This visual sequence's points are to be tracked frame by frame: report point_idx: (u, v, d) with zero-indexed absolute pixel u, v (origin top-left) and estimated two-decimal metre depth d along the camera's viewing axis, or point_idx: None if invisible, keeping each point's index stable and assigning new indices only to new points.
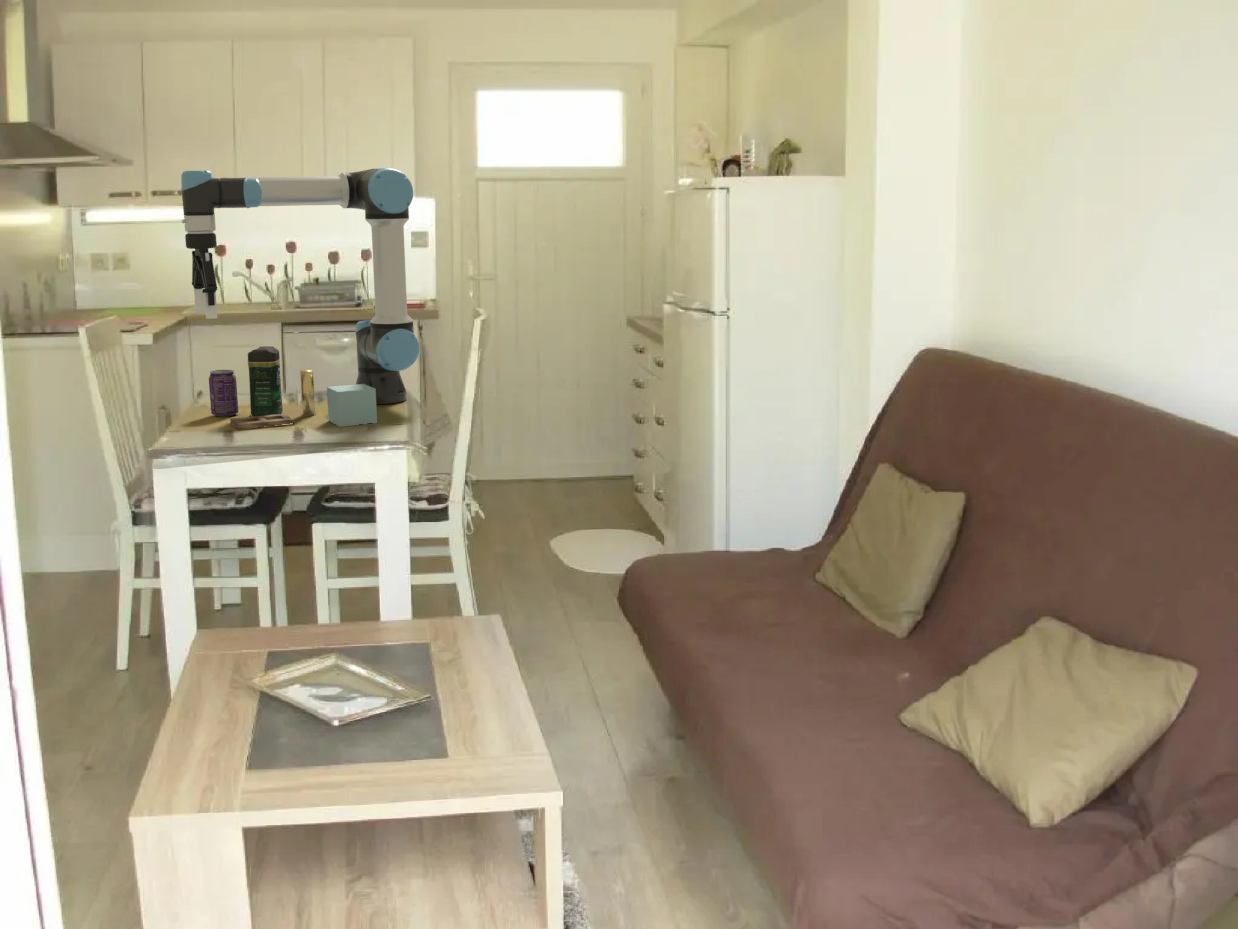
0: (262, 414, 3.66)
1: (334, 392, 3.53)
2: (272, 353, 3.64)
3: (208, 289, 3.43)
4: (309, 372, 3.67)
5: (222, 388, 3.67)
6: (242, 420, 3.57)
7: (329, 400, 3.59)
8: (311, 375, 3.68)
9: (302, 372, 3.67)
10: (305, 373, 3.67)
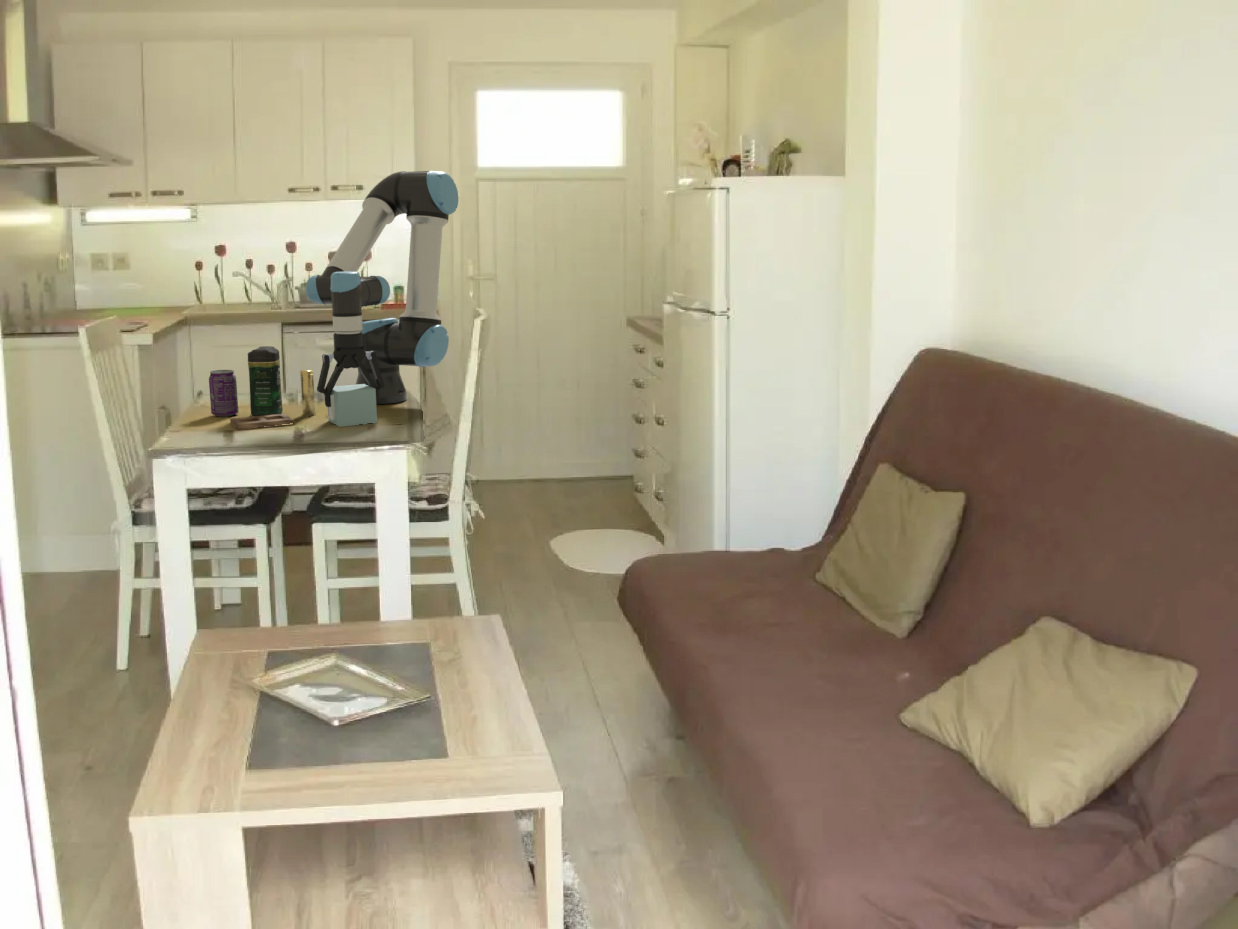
0: (262, 414, 3.66)
1: (334, 392, 3.53)
2: (272, 353, 3.64)
3: (317, 390, 3.54)
4: (309, 372, 3.67)
5: (222, 388, 3.67)
6: (242, 420, 3.57)
7: None
8: (311, 375, 3.68)
9: (302, 372, 3.67)
10: (305, 373, 3.67)
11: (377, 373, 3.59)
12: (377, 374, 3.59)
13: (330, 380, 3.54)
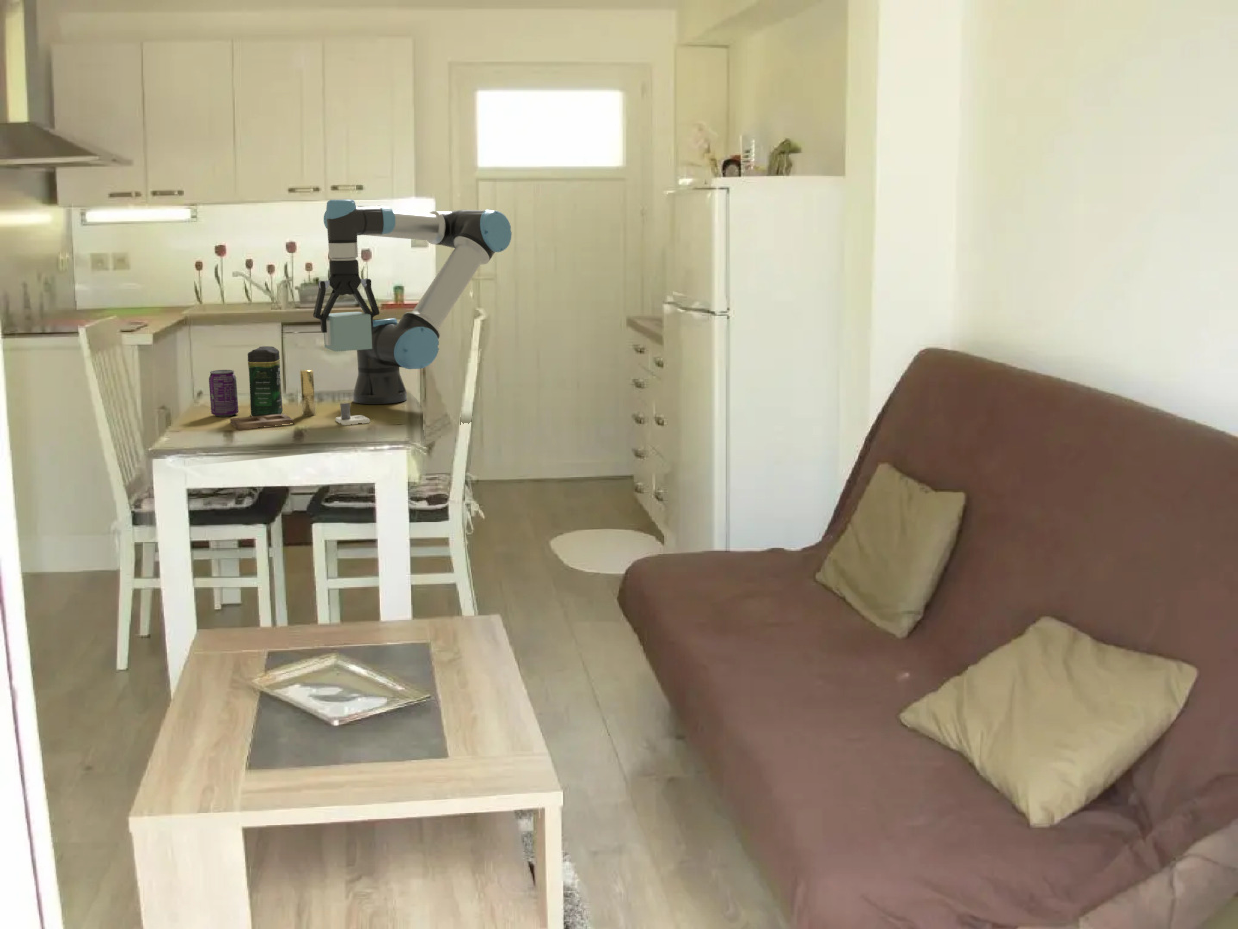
0: (262, 414, 3.66)
1: (330, 318, 3.61)
2: (272, 353, 3.64)
3: (313, 316, 3.62)
4: (309, 372, 3.67)
5: (222, 388, 3.67)
6: (242, 420, 3.57)
7: None
8: (311, 375, 3.68)
9: (302, 372, 3.67)
10: (305, 373, 3.67)
11: (372, 300, 3.66)
12: (372, 301, 3.66)
13: (326, 306, 3.62)
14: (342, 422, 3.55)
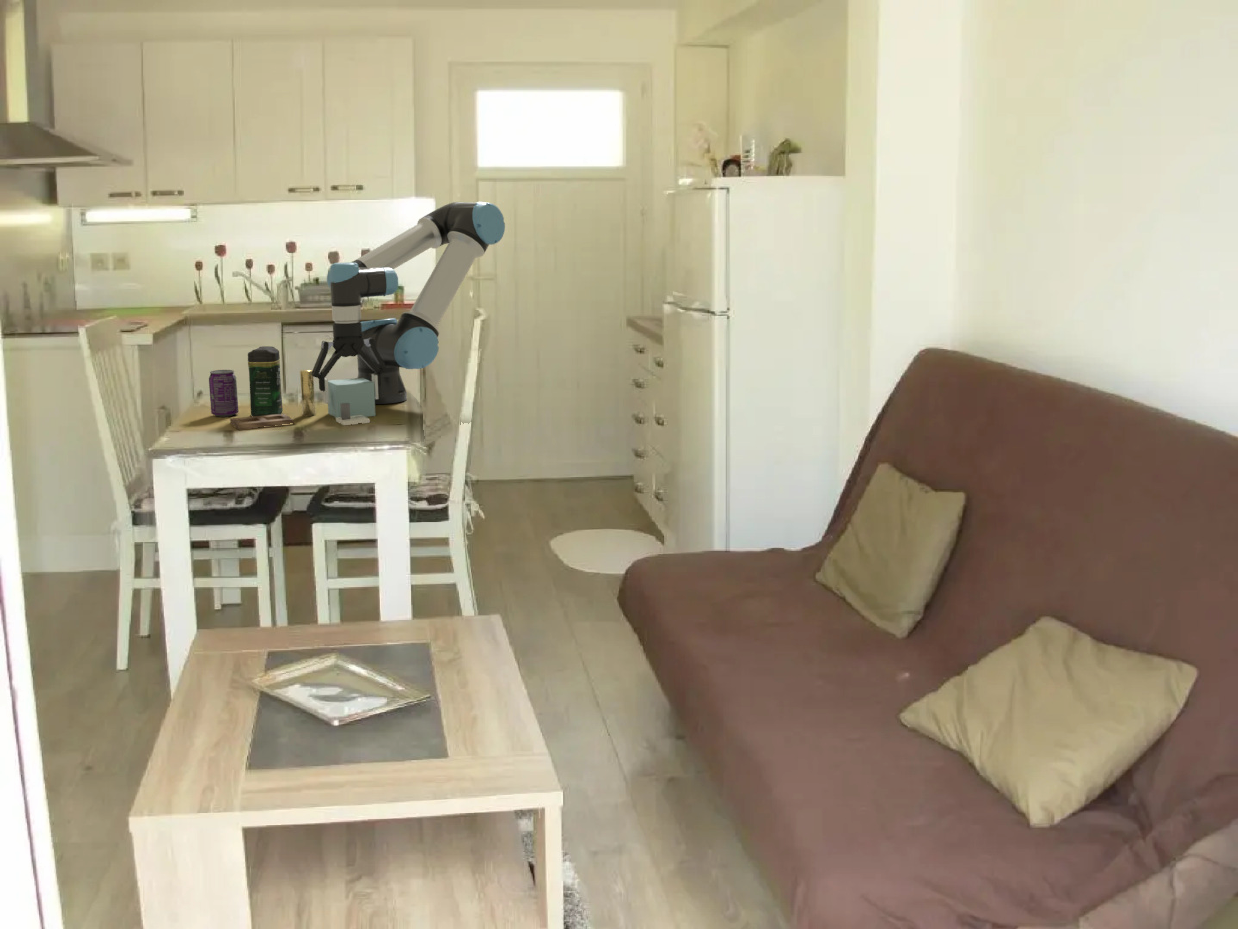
0: (262, 414, 3.66)
1: (334, 386, 3.64)
2: (272, 353, 3.64)
3: (312, 375, 3.64)
4: (309, 372, 3.67)
5: (222, 388, 3.67)
6: (242, 420, 3.57)
7: (329, 393, 3.70)
8: (311, 375, 3.68)
9: (302, 372, 3.67)
10: (305, 373, 3.67)
11: (378, 358, 3.70)
12: (378, 359, 3.70)
13: (326, 366, 3.65)
14: (342, 422, 3.55)
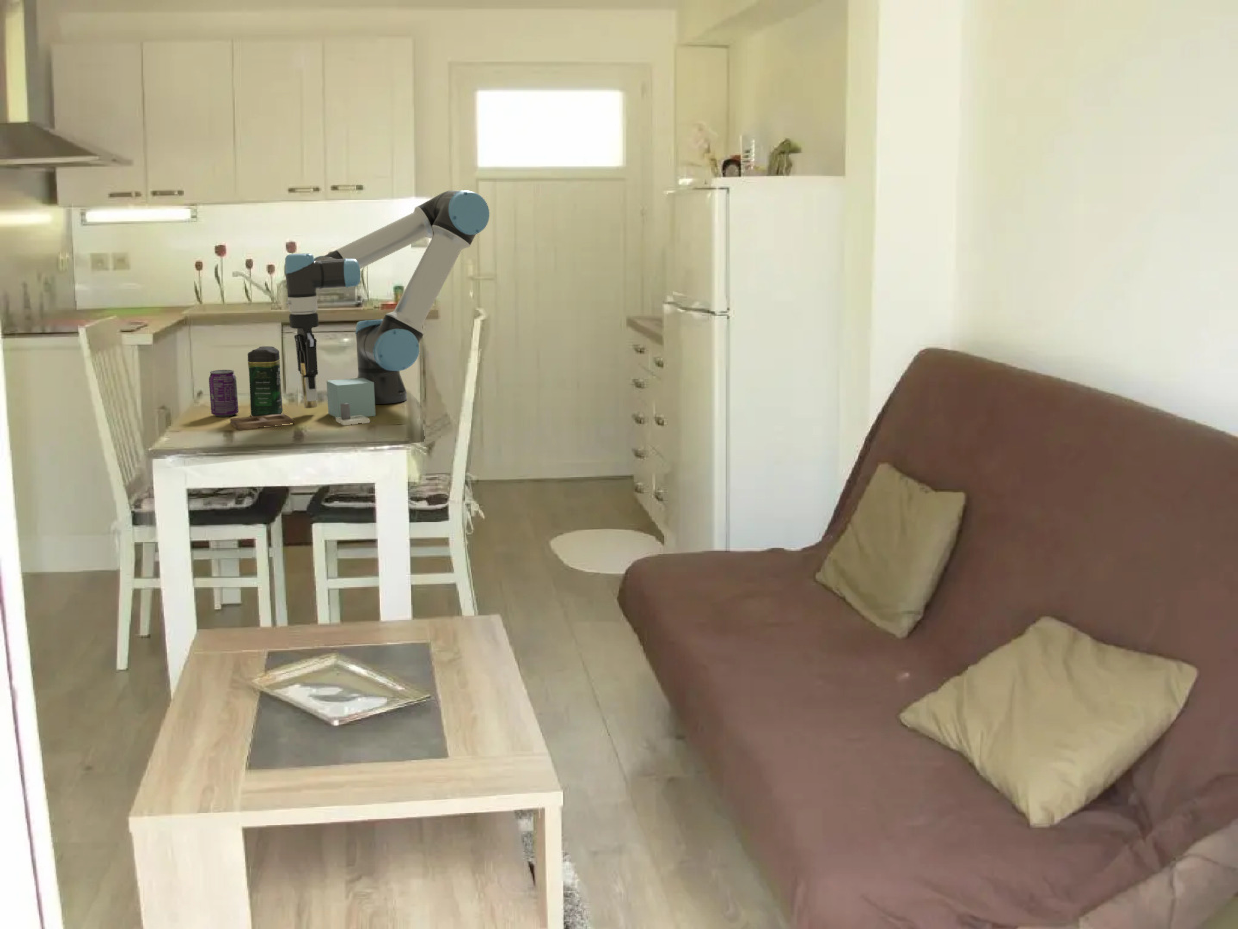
0: (262, 414, 3.66)
1: (334, 386, 3.64)
2: (272, 353, 3.64)
3: (309, 374, 3.64)
4: None
5: (222, 388, 3.67)
6: (242, 420, 3.57)
7: (329, 393, 3.70)
8: None
9: (303, 364, 3.67)
10: None
11: None
12: None
13: None
14: (342, 422, 3.55)
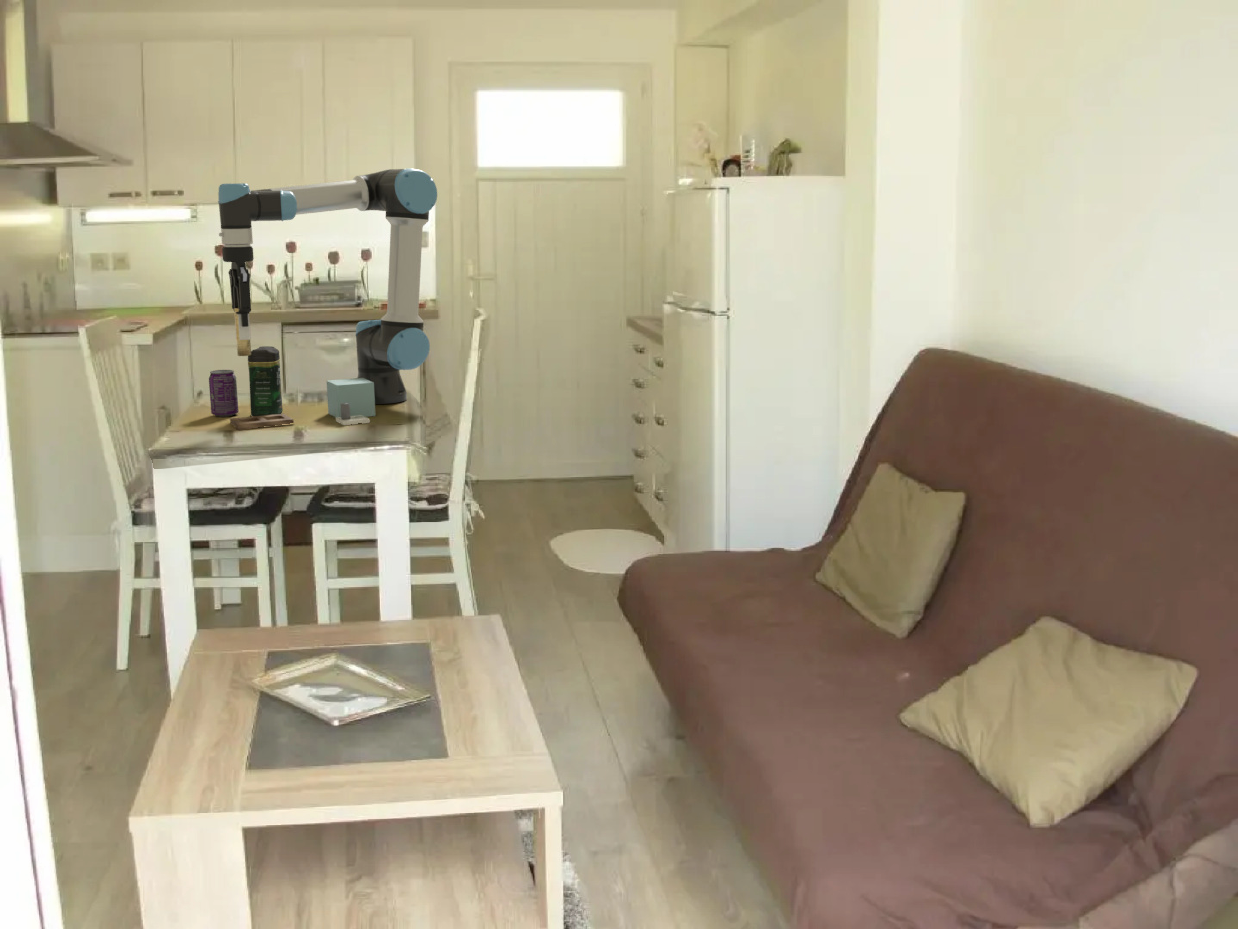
0: (262, 414, 3.66)
1: (334, 386, 3.64)
2: (272, 353, 3.64)
3: (242, 310, 3.45)
4: None
5: (222, 388, 3.67)
6: (242, 420, 3.57)
7: (329, 393, 3.70)
8: None
9: (236, 309, 3.48)
10: None
11: None
12: None
13: None
14: (342, 422, 3.55)
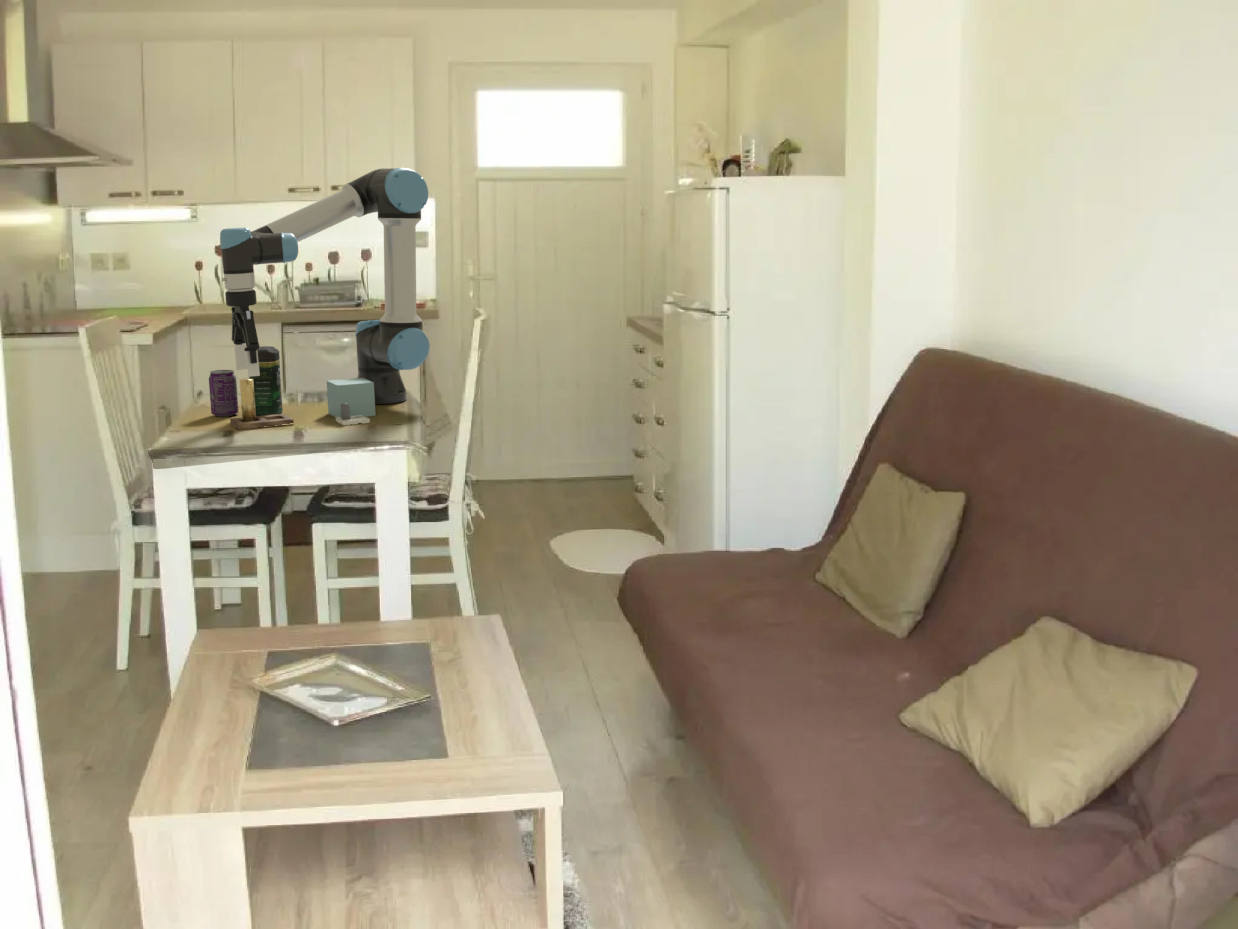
0: (262, 414, 3.66)
1: (334, 386, 3.64)
2: (272, 353, 3.64)
3: (250, 348, 3.43)
4: (249, 381, 3.52)
5: (222, 388, 3.67)
6: (242, 420, 3.57)
7: (329, 393, 3.70)
8: (251, 384, 3.53)
9: (242, 381, 3.52)
10: (245, 382, 3.52)
11: None
12: None
13: None
14: (342, 422, 3.55)
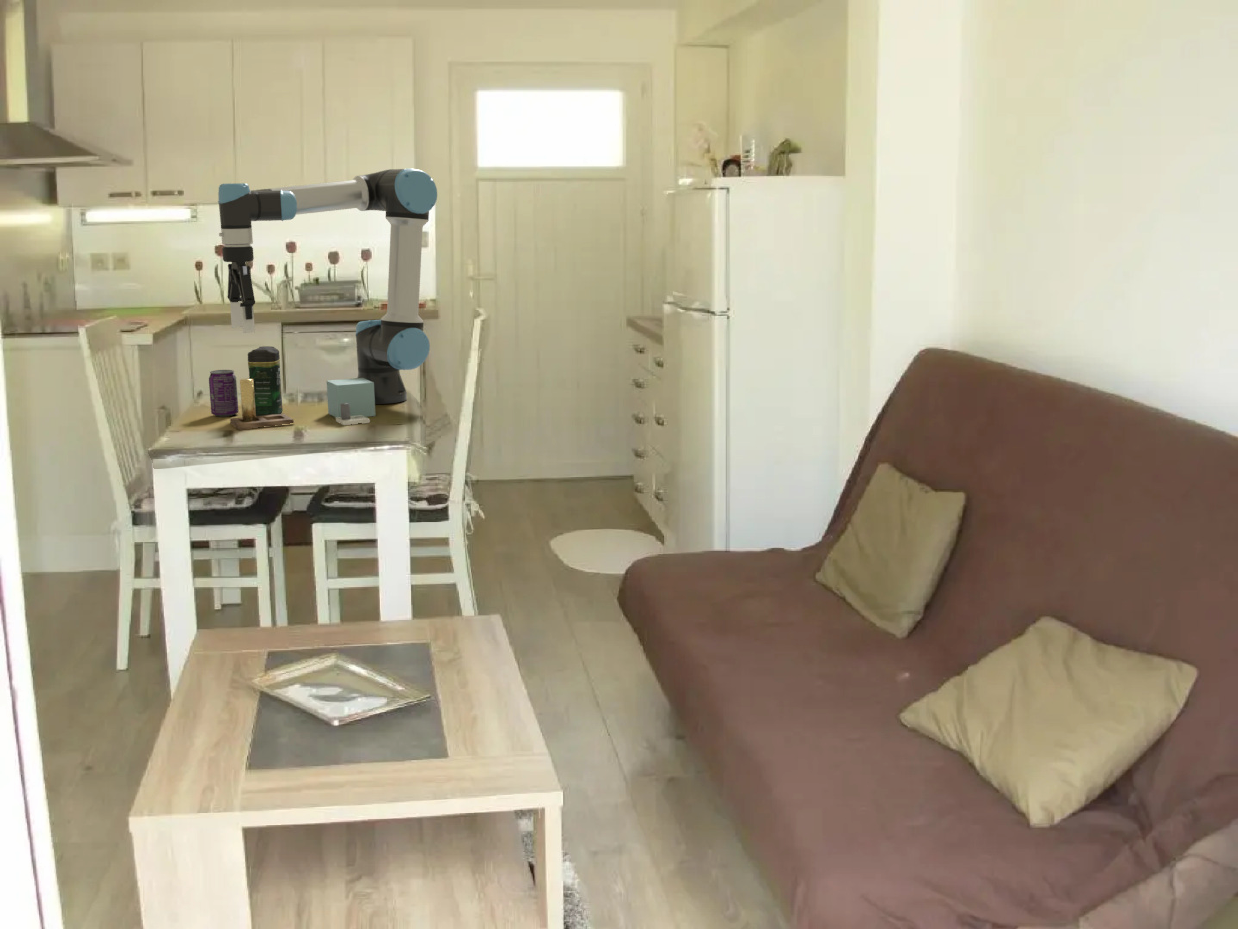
0: (262, 414, 3.66)
1: (334, 386, 3.64)
2: (272, 353, 3.64)
3: (246, 303, 3.40)
4: (249, 381, 3.52)
5: (222, 388, 3.67)
6: (242, 420, 3.57)
7: (329, 393, 3.70)
8: (251, 384, 3.53)
9: (242, 381, 3.52)
10: (245, 382, 3.52)
11: None
12: None
13: None
14: (342, 422, 3.55)
